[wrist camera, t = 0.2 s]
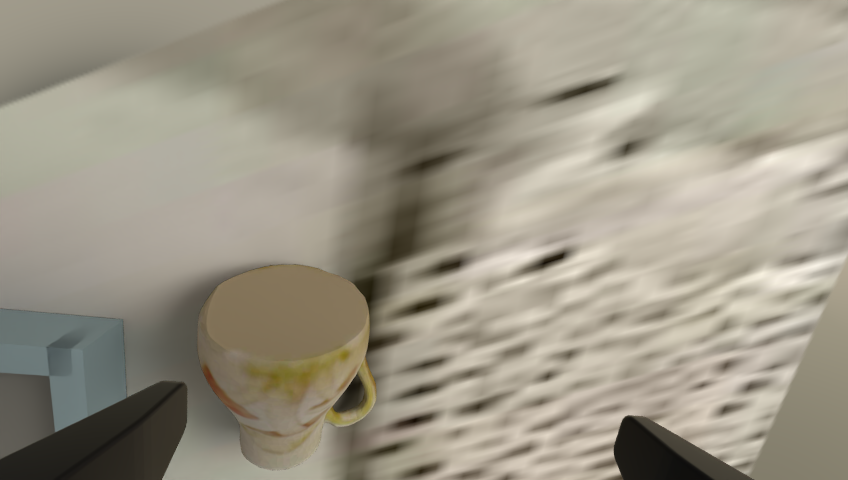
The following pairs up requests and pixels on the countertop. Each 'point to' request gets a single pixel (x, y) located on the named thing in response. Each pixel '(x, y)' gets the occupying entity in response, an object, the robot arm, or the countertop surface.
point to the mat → (24, 411)
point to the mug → (285, 357)
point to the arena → (67, 359)
